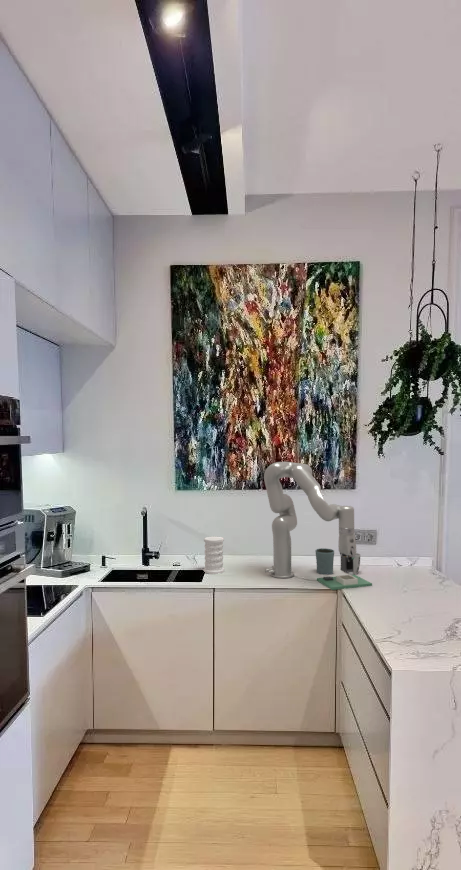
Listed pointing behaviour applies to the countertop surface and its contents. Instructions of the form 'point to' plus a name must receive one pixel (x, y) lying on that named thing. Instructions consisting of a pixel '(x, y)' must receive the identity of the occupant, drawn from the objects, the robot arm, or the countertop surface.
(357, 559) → the cup
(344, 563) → the plug
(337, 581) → the board
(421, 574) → the countertop surface
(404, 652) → the countertop surface
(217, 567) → the decorative container
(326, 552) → the dark grey open cylinder
